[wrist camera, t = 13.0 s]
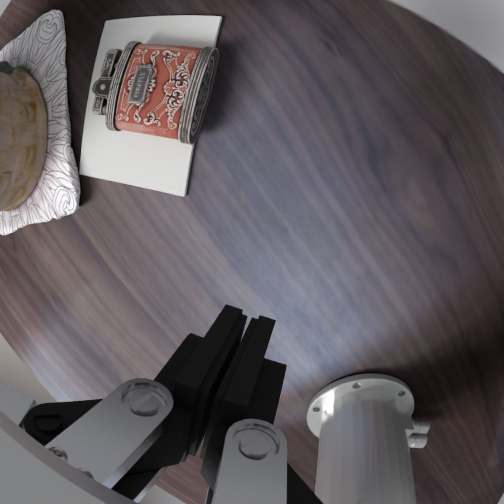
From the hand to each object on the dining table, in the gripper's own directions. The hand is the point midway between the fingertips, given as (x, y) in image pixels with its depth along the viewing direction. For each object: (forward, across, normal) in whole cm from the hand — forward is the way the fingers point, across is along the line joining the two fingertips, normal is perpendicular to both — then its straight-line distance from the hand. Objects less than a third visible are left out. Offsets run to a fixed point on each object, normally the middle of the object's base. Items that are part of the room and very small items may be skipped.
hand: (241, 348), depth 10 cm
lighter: (+14, +9, -9) cm, 19 cm away
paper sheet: (+16, +16, -8) cm, 24 cm away
